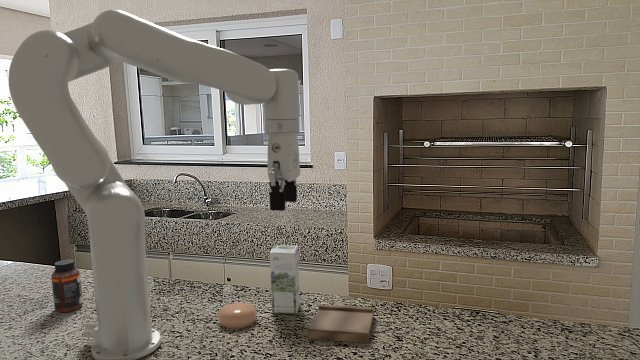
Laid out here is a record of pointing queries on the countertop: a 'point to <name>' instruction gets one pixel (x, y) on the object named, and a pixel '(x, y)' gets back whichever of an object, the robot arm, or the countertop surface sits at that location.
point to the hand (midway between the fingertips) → (284, 205)
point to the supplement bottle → (66, 286)
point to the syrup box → (284, 279)
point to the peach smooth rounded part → (237, 315)
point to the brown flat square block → (342, 323)
